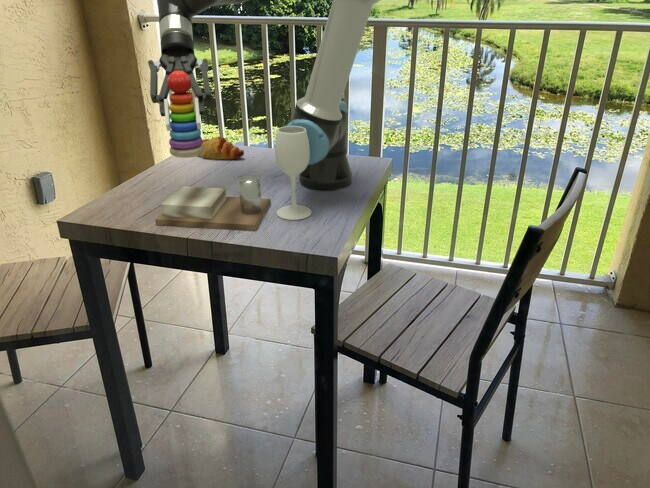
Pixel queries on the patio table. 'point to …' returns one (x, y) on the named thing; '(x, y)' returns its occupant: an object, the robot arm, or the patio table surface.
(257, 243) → the patio table surface
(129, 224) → the patio table surface
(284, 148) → the wineglass
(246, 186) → the grey brown short cylinder
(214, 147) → the croissant
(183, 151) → the stacking toy
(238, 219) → the board
